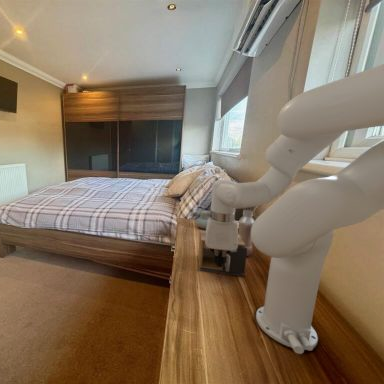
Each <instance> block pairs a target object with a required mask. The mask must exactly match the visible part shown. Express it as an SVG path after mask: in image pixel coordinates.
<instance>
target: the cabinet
mask: <svg viewBox="0 0 384 384" xmlns="http://www.w3.org/2000/svg"><path fill="white" fill-rule="evenodd" d="M205 233H206V230H199V238H198V253H197V256H198V257H197V259H198V267H199V271H201V272H207V273H209V272H210V273H215V274H223V275H231V276H237V277H244V274H243V273H236V272H227V271H223V270H222V267H223V264H222V267H219V266H218V267H217V266H216V263H214V253H213V252H212V251H211V250H208V249H205V248H204V243H205ZM238 247H245V243H244V242H243V240H242V239H241V237H240V235H239V234H238ZM220 252H221V250H219V249H218V253H220Z"/></svg>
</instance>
